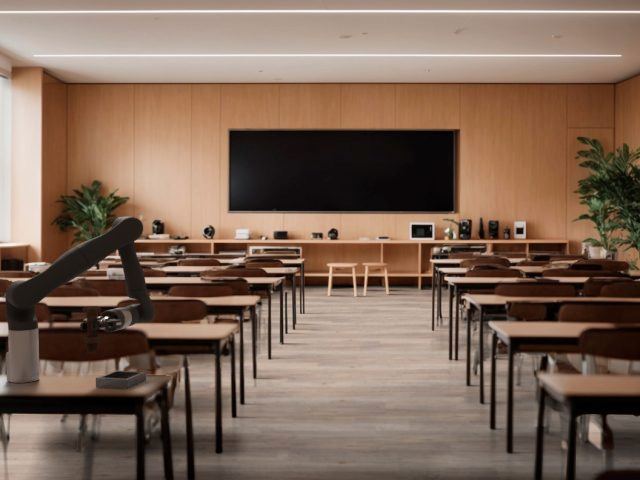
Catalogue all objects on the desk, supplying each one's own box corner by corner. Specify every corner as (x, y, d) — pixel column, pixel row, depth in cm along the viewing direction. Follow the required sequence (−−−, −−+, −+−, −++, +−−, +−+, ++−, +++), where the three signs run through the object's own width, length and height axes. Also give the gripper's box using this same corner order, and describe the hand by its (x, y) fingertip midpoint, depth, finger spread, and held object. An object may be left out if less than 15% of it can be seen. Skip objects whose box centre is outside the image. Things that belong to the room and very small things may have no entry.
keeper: (95, 387, 224) (95, 377, 224) (115, 379, 235) (115, 370, 235) (127, 389, 221) (127, 379, 221) (146, 381, 232) (145, 372, 232)
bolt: (94, 355, 227) (94, 308, 226) (80, 354, 228) (79, 308, 227) (103, 351, 233) (103, 306, 232) (89, 351, 234) (89, 305, 233)
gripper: (98, 307, 245) (67, 314, 229) (134, 309, 242) (105, 316, 225) (98, 329, 246) (67, 337, 229) (134, 331, 242) (106, 339, 225)
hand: (86, 326), depth 227 cm, fingers closed on bolt, 3 cm apart
